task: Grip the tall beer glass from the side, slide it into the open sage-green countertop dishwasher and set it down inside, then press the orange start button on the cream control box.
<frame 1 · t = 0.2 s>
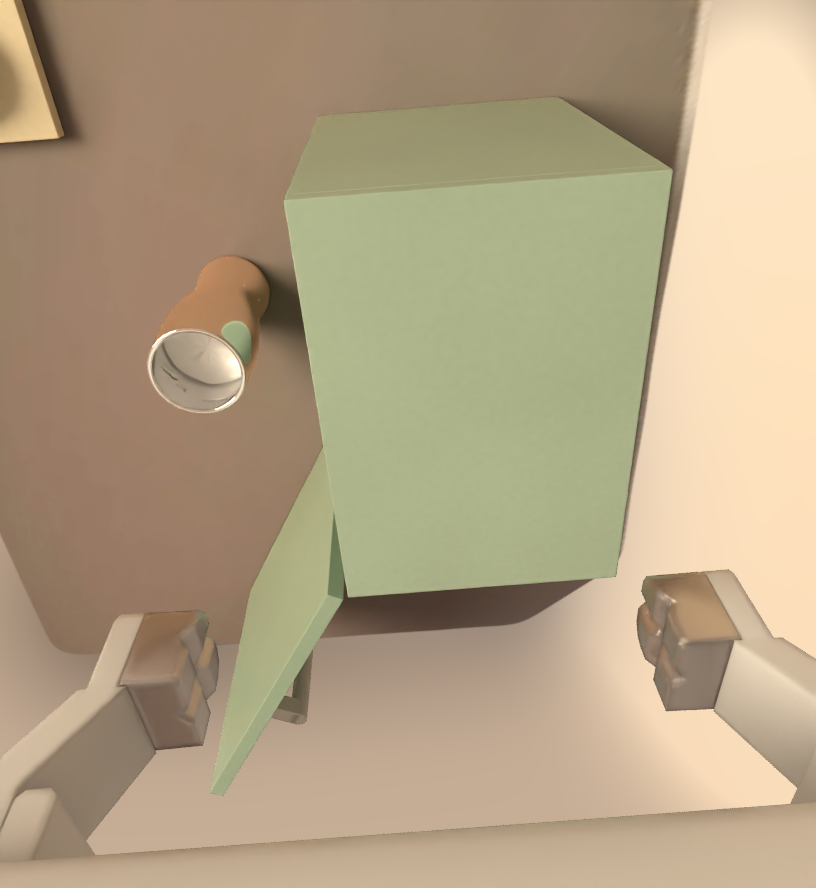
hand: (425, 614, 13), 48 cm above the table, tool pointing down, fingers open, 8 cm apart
dishwasher: (444, 273, 59), on the table
beer glass: (234, 289, 59), on the table
dishwasher door: (315, 602, 63), point 12 cm above the table, hinge at 150.0°
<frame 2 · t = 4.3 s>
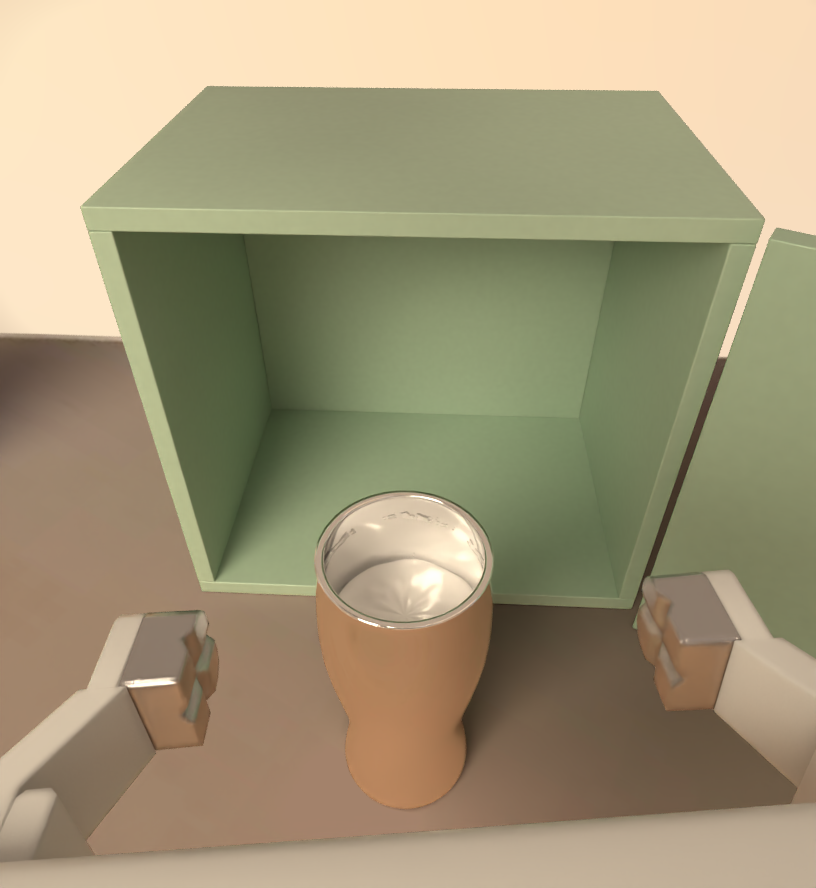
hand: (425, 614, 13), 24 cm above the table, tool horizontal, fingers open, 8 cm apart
dishwasher: (419, 495, 49), on the table
beer glass: (405, 748, 35), on the table
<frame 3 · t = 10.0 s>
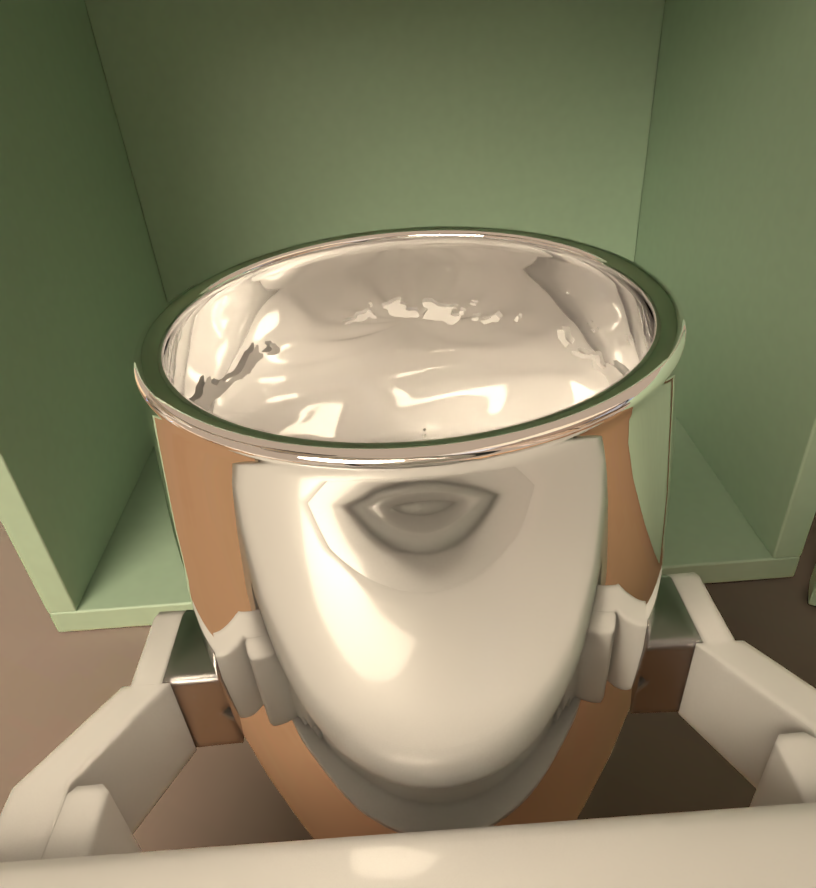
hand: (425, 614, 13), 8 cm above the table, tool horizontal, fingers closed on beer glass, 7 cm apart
dishwasher: (413, 458, 32), on the table
beer glass: (448, 885, 17), on the table, touching gripper
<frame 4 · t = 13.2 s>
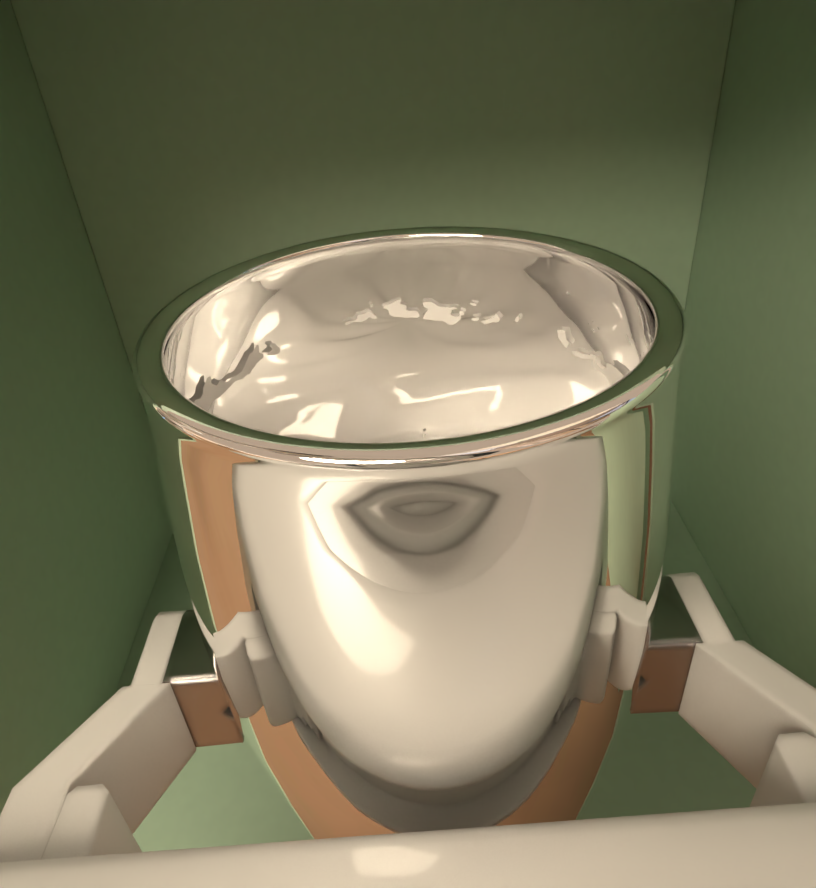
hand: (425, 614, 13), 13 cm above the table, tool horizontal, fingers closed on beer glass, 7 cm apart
dishwasher: (430, 636, 29), on the table
beer glass: (448, 886, 17), point 4 cm above the table, touching gripper
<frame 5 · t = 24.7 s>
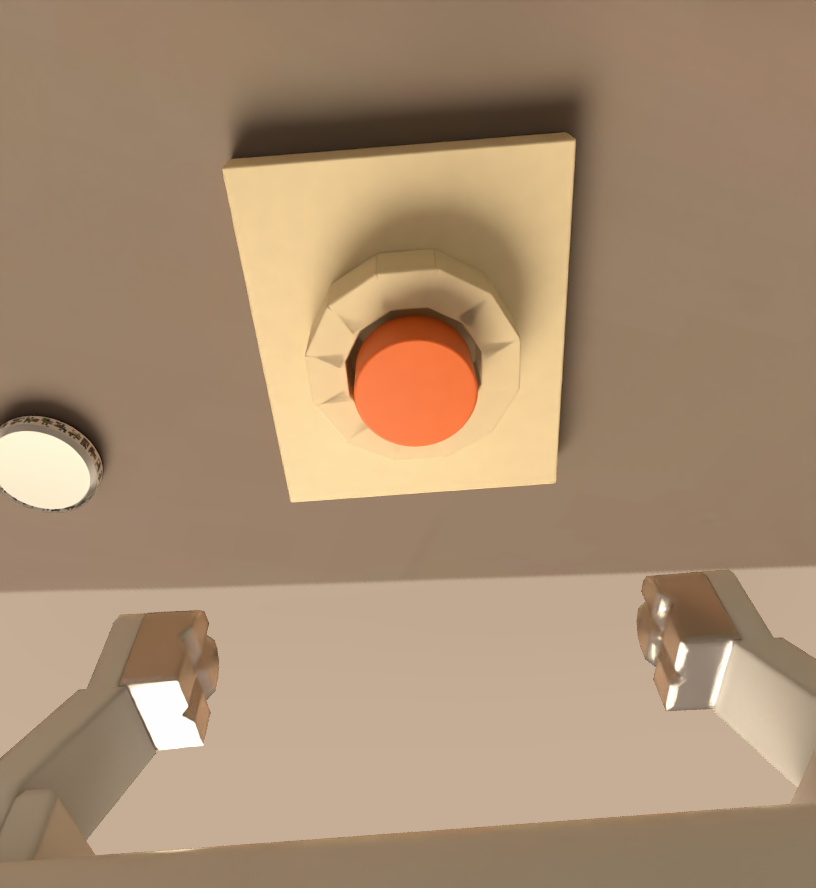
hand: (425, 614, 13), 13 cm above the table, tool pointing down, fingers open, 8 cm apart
control box: (411, 332, 24), on the table
washi tape: (49, 458, 26), on the table
start button: (415, 381, 21), point 4 cm above the table, slide at 0.2 cm
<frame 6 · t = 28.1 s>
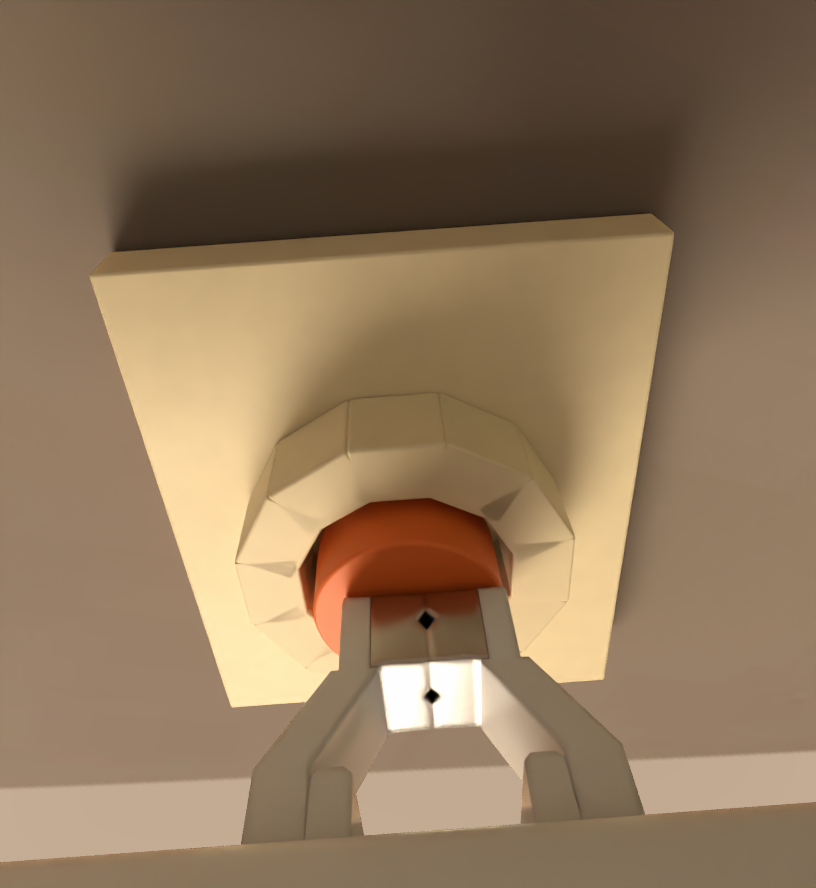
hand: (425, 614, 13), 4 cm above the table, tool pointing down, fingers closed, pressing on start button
control box: (401, 489, 16), on the table
start button: (407, 580, 14), point 3 cm above the table, slide at -0.4 cm, touching gripper
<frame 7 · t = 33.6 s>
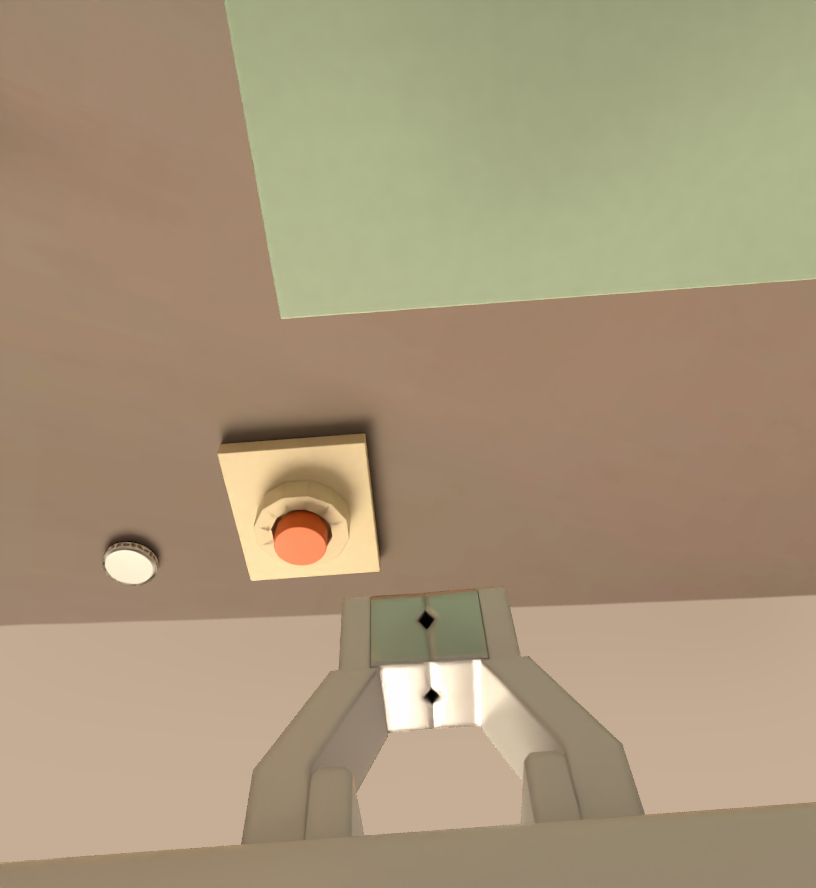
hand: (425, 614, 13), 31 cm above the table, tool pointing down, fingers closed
control box: (305, 506, 51), on the table
washi tape: (132, 559, 53), on the table
start button: (301, 538, 48), point 4 cm above the table, slide at 0.1 cm
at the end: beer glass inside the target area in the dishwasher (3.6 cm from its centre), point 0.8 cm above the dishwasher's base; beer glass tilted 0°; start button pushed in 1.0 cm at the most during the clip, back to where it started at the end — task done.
